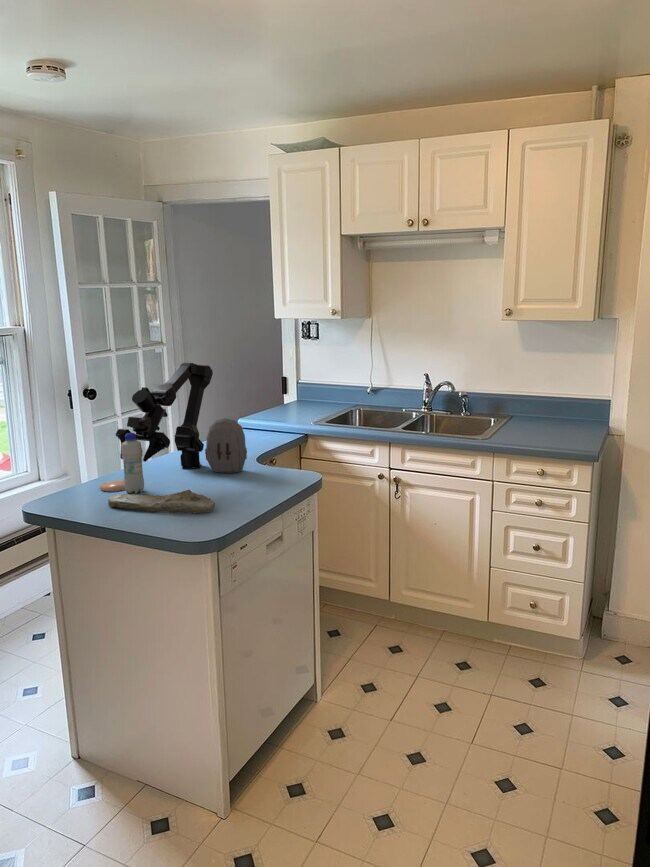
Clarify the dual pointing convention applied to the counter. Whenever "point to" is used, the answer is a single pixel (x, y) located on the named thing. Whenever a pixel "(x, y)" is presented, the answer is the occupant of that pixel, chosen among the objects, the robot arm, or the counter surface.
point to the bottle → (132, 464)
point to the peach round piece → (113, 486)
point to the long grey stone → (164, 502)
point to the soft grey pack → (226, 446)
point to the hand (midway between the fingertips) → (132, 459)
